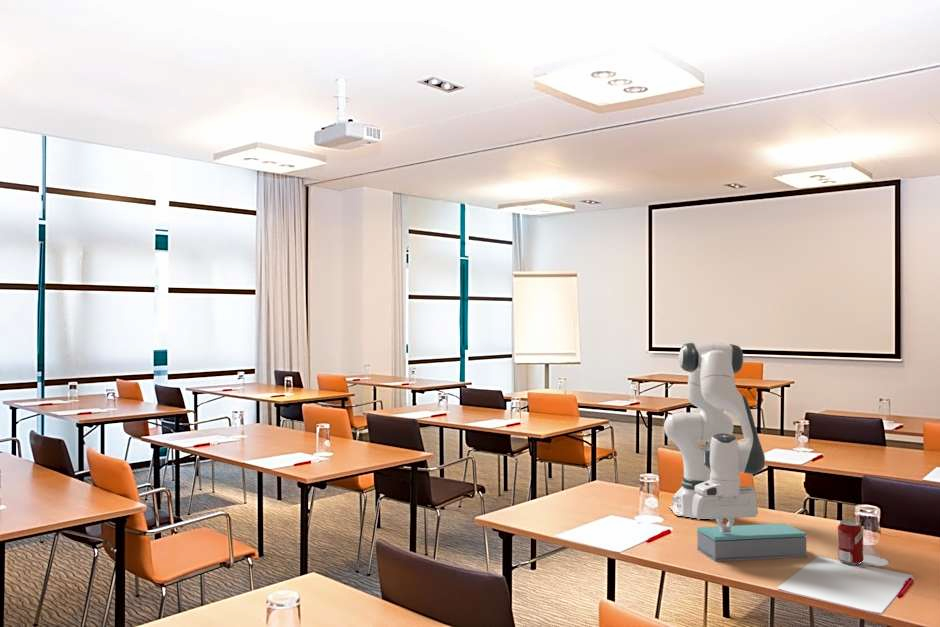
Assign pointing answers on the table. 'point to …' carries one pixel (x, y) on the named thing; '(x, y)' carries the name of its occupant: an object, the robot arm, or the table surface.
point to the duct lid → (752, 532)
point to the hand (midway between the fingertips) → (725, 532)
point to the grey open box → (752, 548)
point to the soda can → (850, 542)
